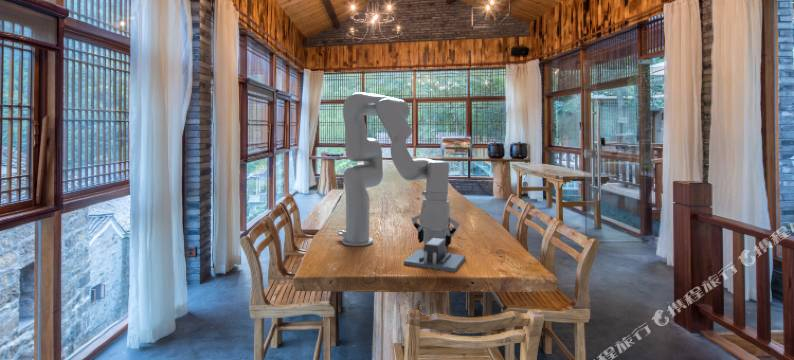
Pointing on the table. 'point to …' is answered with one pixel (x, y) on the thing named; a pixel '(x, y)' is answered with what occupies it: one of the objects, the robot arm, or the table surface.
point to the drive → (435, 249)
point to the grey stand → (447, 263)
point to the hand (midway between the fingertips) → (434, 243)
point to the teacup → (434, 234)
